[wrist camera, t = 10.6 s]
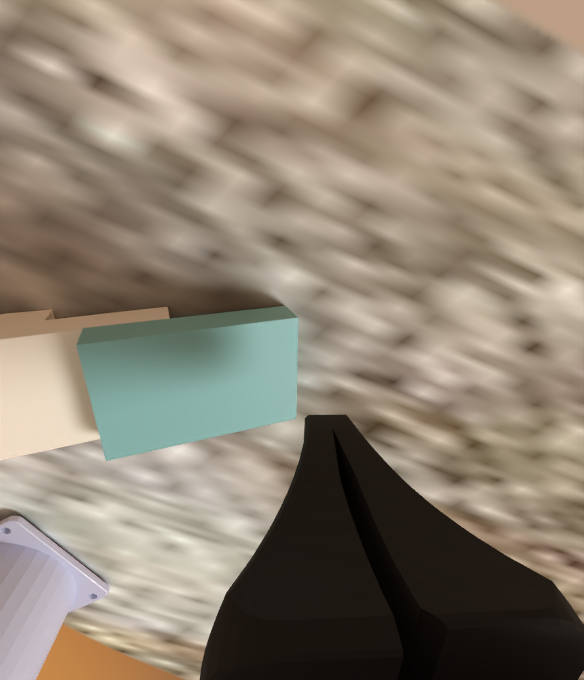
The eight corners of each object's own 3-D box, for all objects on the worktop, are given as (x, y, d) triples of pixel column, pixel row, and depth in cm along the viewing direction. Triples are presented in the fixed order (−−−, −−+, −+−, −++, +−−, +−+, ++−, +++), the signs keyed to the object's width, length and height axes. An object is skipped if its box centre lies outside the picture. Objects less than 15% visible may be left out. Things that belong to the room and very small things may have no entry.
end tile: (284, 400, 18) (109, 435, 15) (284, 305, 16) (83, 328, 13) (296, 418, 17) (106, 461, 14) (298, 317, 15) (76, 345, 12)
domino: (182, 402, 18) (-13, 440, 15) (167, 306, 16) (-61, 332, 13) (185, 420, 16) (-28, 466, 14) (169, 318, 14) (-84, 350, 12)
